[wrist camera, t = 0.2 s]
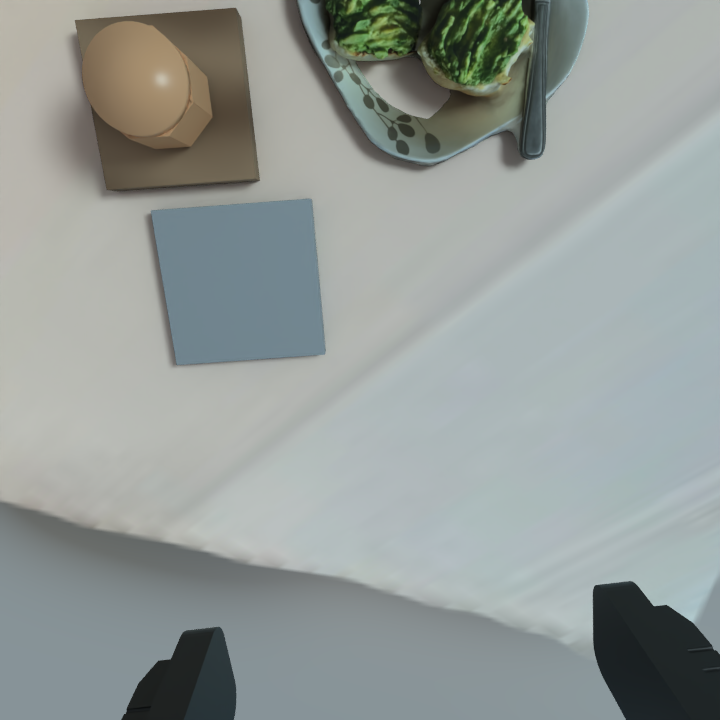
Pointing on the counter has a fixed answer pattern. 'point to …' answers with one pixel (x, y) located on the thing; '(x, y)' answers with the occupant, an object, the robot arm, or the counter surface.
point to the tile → (241, 281)
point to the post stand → (228, 103)
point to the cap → (146, 86)
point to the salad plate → (451, 66)
